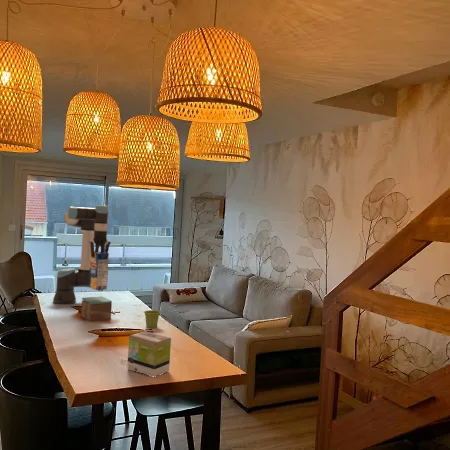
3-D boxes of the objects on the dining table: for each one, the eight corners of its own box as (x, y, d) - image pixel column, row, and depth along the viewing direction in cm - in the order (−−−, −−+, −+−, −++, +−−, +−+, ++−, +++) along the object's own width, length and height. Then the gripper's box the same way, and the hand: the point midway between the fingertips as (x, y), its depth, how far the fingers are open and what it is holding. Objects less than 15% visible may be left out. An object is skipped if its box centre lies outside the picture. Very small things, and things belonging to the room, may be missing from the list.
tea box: (126, 370, 188) (128, 334, 187) (142, 364, 196) (144, 330, 196) (154, 378, 180) (156, 341, 180) (169, 372, 188) (171, 336, 188)
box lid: (82, 299, 277) (82, 297, 277) (102, 297, 286) (102, 296, 286) (91, 304, 267) (91, 302, 266) (111, 302, 275) (111, 301, 275)
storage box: (81, 316, 277) (81, 300, 277) (101, 314, 286) (101, 299, 286) (90, 321, 267) (91, 304, 267) (110, 319, 275) (111, 303, 275)
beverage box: (96, 290, 269) (98, 253, 269) (88, 287, 278) (90, 251, 277) (106, 289, 274) (108, 253, 273) (99, 286, 282) (101, 251, 282)
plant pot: (139, 326, 262) (140, 311, 262) (152, 324, 269) (153, 309, 269) (149, 329, 255) (150, 314, 255) (162, 327, 262) (163, 312, 262)
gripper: (91, 230, 268) (89, 270, 268) (114, 231, 277) (112, 269, 278) (86, 229, 274) (84, 268, 274) (109, 230, 283) (107, 268, 283)
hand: (98, 269), depth 276 cm, fingers closed on beverage box, 2 cm apart
